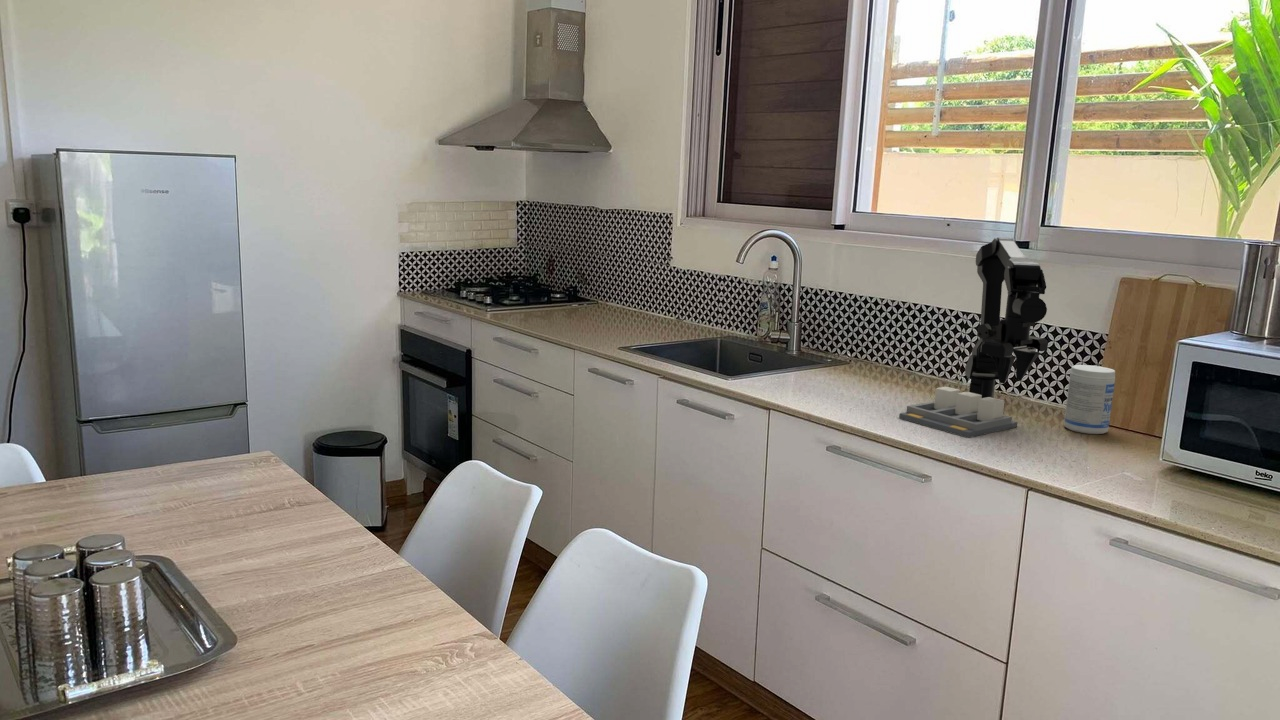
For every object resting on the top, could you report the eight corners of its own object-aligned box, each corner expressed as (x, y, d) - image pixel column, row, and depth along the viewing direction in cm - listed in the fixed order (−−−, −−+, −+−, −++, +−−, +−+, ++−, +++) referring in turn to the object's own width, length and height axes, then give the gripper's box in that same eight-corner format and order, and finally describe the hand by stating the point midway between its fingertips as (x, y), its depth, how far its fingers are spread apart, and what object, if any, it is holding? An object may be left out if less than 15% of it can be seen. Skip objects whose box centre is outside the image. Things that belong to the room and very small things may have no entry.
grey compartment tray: (948, 409, 237) (949, 398, 236) (1017, 427, 222) (1018, 415, 221) (899, 418, 226) (900, 407, 225) (968, 437, 211) (969, 426, 210)
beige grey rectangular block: (943, 406, 233) (946, 386, 232) (957, 409, 230) (960, 389, 229) (933, 408, 231) (935, 388, 230) (947, 411, 227) (949, 391, 227)
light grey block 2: (986, 417, 224) (989, 396, 223) (1002, 421, 220) (1004, 400, 219) (976, 419, 221) (979, 398, 220) (992, 423, 218) (994, 402, 217)
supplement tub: (1110, 437, 216) (1119, 374, 213) (1065, 432, 219) (1074, 370, 216) (1104, 427, 225) (1112, 366, 222) (1061, 422, 228) (1068, 362, 225)
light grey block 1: (965, 411, 228) (967, 391, 227) (979, 415, 225) (981, 395, 224) (954, 413, 226) (957, 393, 225) (969, 417, 223) (971, 396, 222)
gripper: (1010, 309, 232) (1003, 371, 235) (964, 313, 221) (957, 378, 224) (1052, 315, 223) (1044, 380, 226) (1006, 320, 212) (999, 388, 215)
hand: (1010, 381), depth 223 cm, fingers open, 6 cm apart
